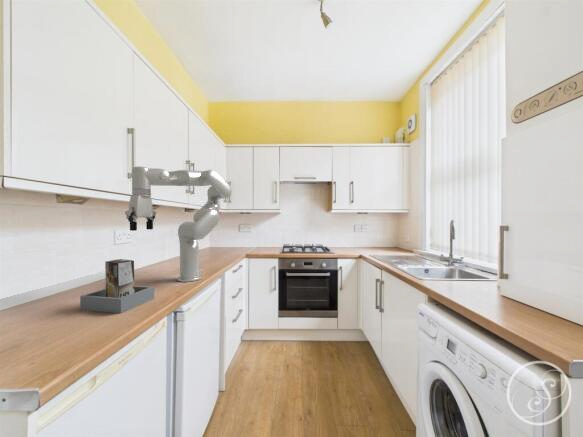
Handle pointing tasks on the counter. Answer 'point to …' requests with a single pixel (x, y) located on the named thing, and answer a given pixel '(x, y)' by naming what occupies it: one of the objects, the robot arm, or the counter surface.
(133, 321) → the counter surface
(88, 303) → the box
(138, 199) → the robot arm
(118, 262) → the coffee box
